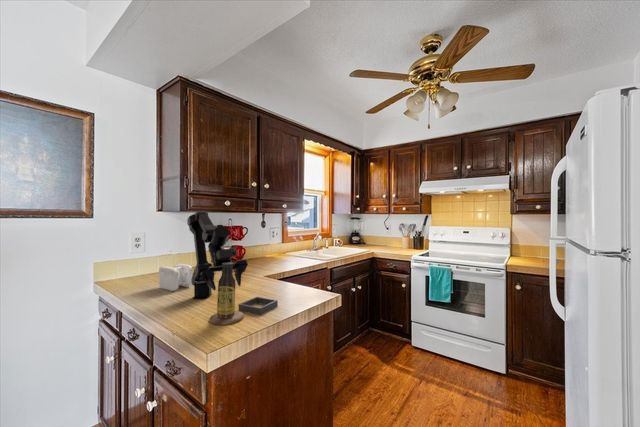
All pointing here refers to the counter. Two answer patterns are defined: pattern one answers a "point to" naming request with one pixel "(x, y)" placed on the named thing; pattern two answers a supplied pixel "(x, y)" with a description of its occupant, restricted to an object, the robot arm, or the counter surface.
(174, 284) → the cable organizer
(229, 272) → the sauce bottle
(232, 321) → the coaster
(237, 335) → the counter surface
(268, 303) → the dark grey square tray
